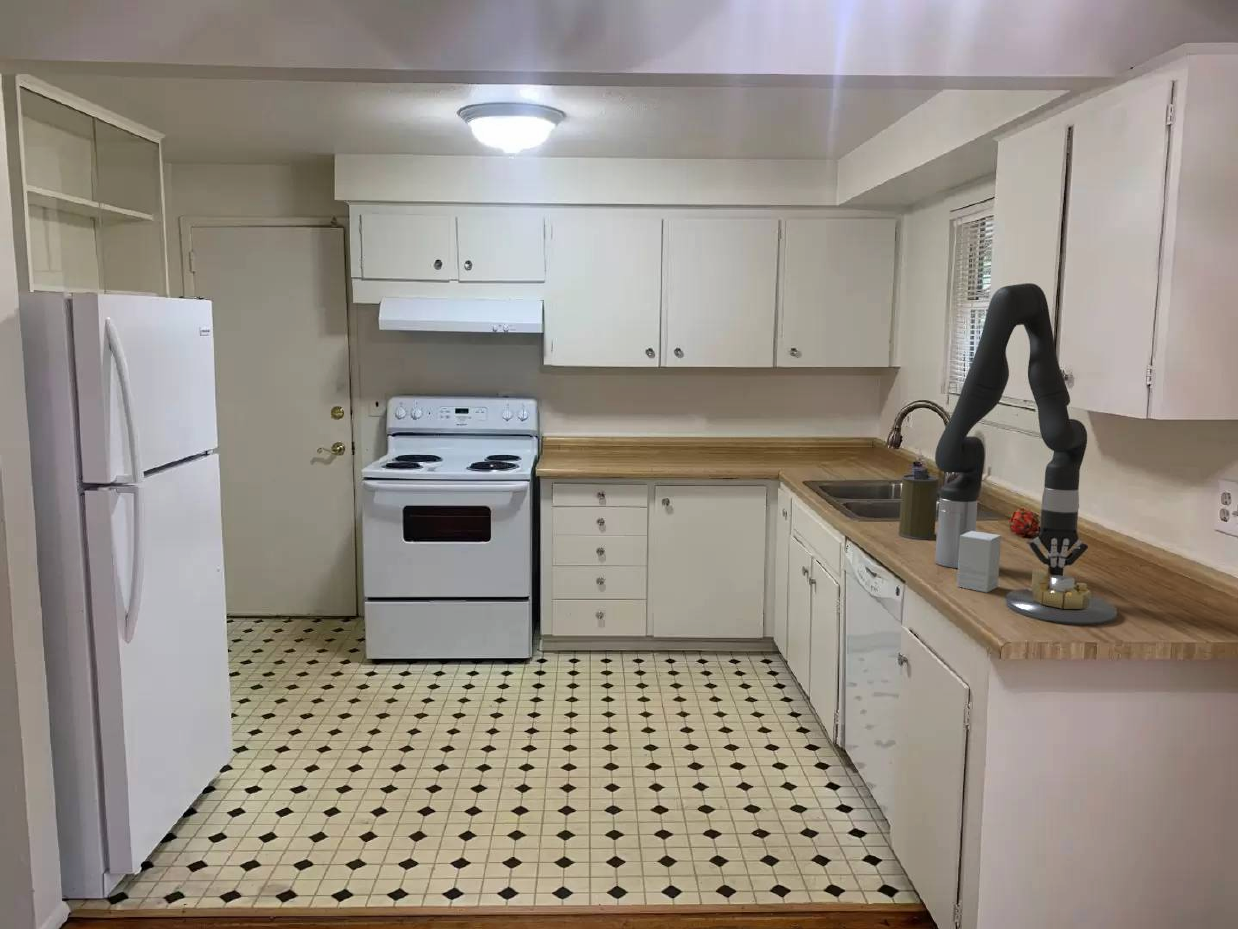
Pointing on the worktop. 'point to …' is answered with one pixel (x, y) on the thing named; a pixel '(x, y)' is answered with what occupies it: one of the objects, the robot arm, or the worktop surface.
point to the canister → (918, 505)
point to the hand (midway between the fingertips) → (1054, 582)
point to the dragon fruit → (1024, 522)
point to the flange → (1090, 615)
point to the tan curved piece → (1069, 600)
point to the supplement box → (979, 561)
